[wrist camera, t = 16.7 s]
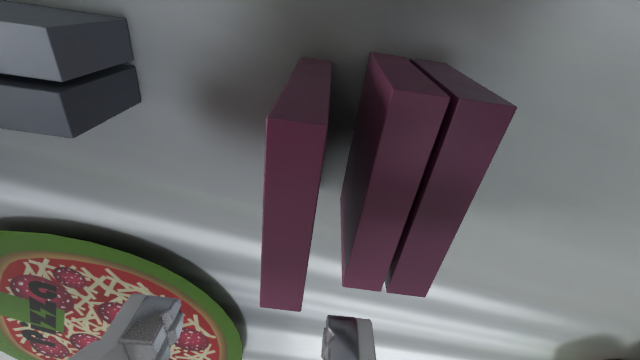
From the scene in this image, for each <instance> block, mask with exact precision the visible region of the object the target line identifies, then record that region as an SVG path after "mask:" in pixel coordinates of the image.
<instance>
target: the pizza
mask: <svg viewBox="0 0 640 360" xmlns="http://www.w3.org/2000/svg"><path fill="white" fill-rule="evenodd" d="M133 293H136V294H146V295H152V296H161V297H169V298H178V299H180V301H181V307H180V309H179V310H181V311H182V312H183V315H184V323H183V327H182V331H181V334H180V336H179V338H178V341H177V342H175V343H174V344H173V345H172V346H171V347H170V351H171V356H170V359H169V360H242V351H243V348H242V344H241V339H240V335H239V333H238V331H237V329H236V327H235V325H234V323H233V322H232V320H231V319H230V318H229V317H228V315H227V314H226V313H225V312H224V310H223V309H222V308H221V307H220V306H219V305H218V304H217V303H216V302H215V301H214V300H213V299H211V298H210V297H209V296H208V295H207V294H206V293H205V292H203V291H202V290H200V289H199V288H198V287H196V286H195V285H193V284H192V283H190V282H189V281H188V280H186V279H185V278H183V277H181V276H179V275H177V274H175V273H173V272H171V271H170V270H168V269H166V268H164V267H162V266H160V265H158V264H155V263H153V262H150V261H148V260H145V259H143V258H140V257H137V256H135V255H132V254H130V253H127V252H123V251H120V250H116V249H113V248H110V247H106V246H103V245H100V244H96V243H93V242H89V241H83V240H78V239H73V238H68V237H63V236H58V235H53V234H47V233H33V232H19V231H4V230H3V231H0V351H2V352H4V353H6V354H8V355H10V356H12V357H14V358H16V359H18V360H67V359H68V358H70V357H71V356H72V355H74V354H75V353H77V352H78V351H80V350H81V349H83V348H84V347H86V346H87V345H89V344H90V343H92V342H93V341H95V340H98V341H100V339H101V338H102V336H103V335H104V333H105V332H106V330H107V329H108V327H109V326H110V324H111V323H112V321H113V320H114V318H115V317H116V315H117V314H118V312H119V311H120V309H121V308H122V306H123V305H124V303H125V302H126V300H127V299H128V298H129V297H130V296H131V295H132V294H133Z"/></svg>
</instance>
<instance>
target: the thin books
mask: <svg viewBox="0 0 640 360" xmlns="http://www.w3.org/2000/svg"><path fill="white" fill-rule="evenodd" d="M516 109H517V107H516V106H515V105H513V104H511V103H510V102H508V101H507V100H505V99H503V98H502V97H500V96H498V95H497V94H495V93H493V92H492V91H490V90H488V89H487V88H485V87H484V86H482V85H480V84H479V83H477V82H475V81H474V80H472V79H470V78H469V77H467V76H465V75H464V74H462V73H461V72H459V71H457V70H456V69H454V68H452V67H451V66H449V65H447V64H446V63H441V62H434V61H427V60H421V59H414V58H411V59H410V61H409V60H407V59H406V58H405V57H400V56H394V55H387V54H380V53H374V52H370V56H369V60H368V65H367V70H366V75H365V80H364V85H363V90H362V95H361V100H360V105H359V109H358V114H357V119H356V124H355V129H354V134H353V139H352V144H351V149H350V154H349V158H348V163H347V168H346V173H345V178H344V183H343V188H342V193H341V198H340V204H341V253H342V286H343V287H349V288H356V289H364V290H372V291H381V289H382V286H383V284H384V281H385V285H386V291H387V293H394V294H402V295H410V296H418V297H426V294H427V292H428V290H429V288H430V286H431V284H432V282H433V280H434V278H435V276H436V274H437V272H438V270H439V268H440V266H441V264H442V261H443V259H444V257H445V255H446V253H447V251H448V249H449V247H450V245H451V243H452V241H453V239H454V237H455V235H456V233H457V231H458V229H459V226H460V224H461V222H462V220H463V218H464V216H465V214H466V212H467V210H468V208H469V206H470V204H471V202H472V200H473V198H474V196H475V194H476V191H477V189H478V187H479V185H480V183H481V181H482V179H483V177H484V175H485V173H486V171H487V169H488V167H489V165H490V163H491V161H492V158H493V156H494V154H495V152H496V150H497V148H498V146H499V144H500V142H501V140H502V138H503V136H504V134H505V132H506V130H507V128H508V126H509V123H510V121H511V119H512V117H513V115H514V113H515V111H516Z"/></svg>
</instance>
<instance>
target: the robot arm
mask: <svg viewBox="0 0 640 360" xmlns="http://www.w3.org/2000/svg"><path fill="white" fill-rule="evenodd" d="M180 307H181V301H180V299H178V298H169V297H161V296H152V295H146V294H136V293H133V294H132V295H131V296H130V297H129V298H128V299H127V300H126V302H125V303H124V305H123V306H122V308H121V309H120V311H119V312H118V314H117V315H116V317H115V318H114V320H113V321H112V323H111V324H110V326H109V327H108V329H107V330H106V332H105V333H104V335H103V336H102V338H101V339H100V341H98V340H95V341H93V342H92V343H90V344H89V345H87V346H86V347H84V348H83V349H81V350H80V351H78V352H77V353H75V354H74V355H72V356H71V357H70V358H68V359H67V360H169V359H170V356H171V351H170V347H171V346H172V345H173V344H174V343H175V342H177V341H178V338H179V336H180V334H181V331H182V327H183V323H184V315H183V312H182V311H181V310H179V309H180ZM321 357H322V358H323V360H376V354H375V346H374V337H373V329H372V323H371V321H370V319H361V318H354V317H344V316H333V315H328V316H327V319H326V327H325V328H324V333H323V339H322V354H321Z"/></svg>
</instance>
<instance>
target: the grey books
mask: <svg viewBox="0 0 640 360" xmlns="http://www.w3.org/2000/svg"><path fill="white" fill-rule="evenodd" d="M132 60H133V54H132V49H131V43H130V38H129V32H128V27H127V21H126V19H123V18H117V17H110V16H103V15H97V14H90V13H83V12H77V11H70V10H63V9H57V8H50V7H43V6H37V5H30V4H23V3H17V2H10V1H3V0H0V128H1V129H9V130H16V131H23V132H30V133H38V134H45V135H52V136H59V137H67V138H75V137H77V136H79V135H80V134H82V133H84V132H86V131H88V130H90V129H92V128H93V127H95V126H97V125H99V124H101V123H103V122H105V121H106V120H108V119H110V118H112V117H114V116H116V115H118V114H120V113H121V112H123V111H125V110H127V109H129V108H131V107H133V106H134V105H136V104H138V103H140V102H141V99H140V94H139V88H138V83H137V77H136V72H135V67H133V66H126V65H119V64H122V63H125V62H128V61H132Z"/></svg>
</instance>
